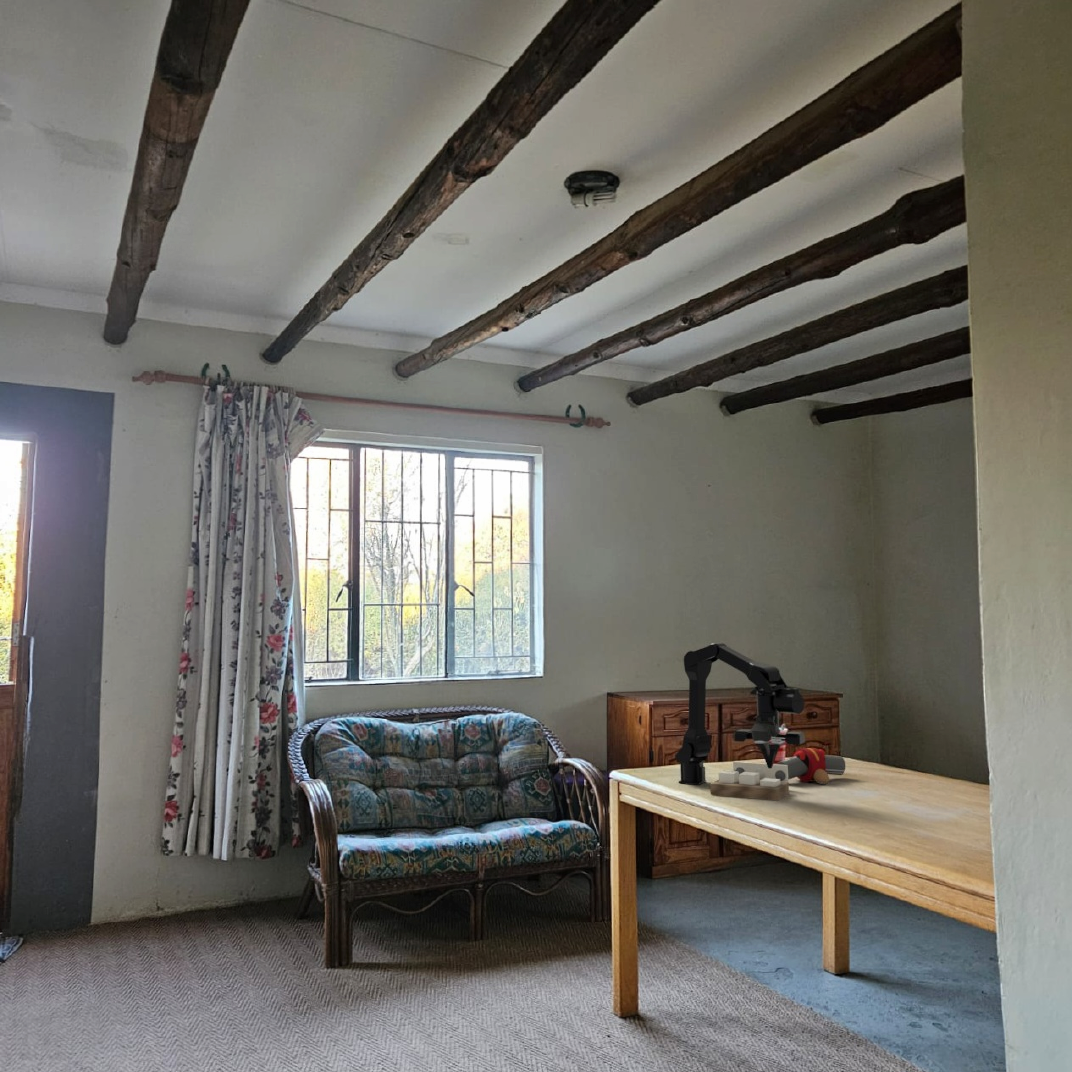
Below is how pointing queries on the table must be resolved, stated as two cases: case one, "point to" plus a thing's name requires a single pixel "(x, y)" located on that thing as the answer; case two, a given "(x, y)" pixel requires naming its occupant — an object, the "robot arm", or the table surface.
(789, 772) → the toy
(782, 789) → the board
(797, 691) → the robot arm
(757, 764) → the card
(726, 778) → the button left
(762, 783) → the button right
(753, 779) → the button mid
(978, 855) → the table surface
